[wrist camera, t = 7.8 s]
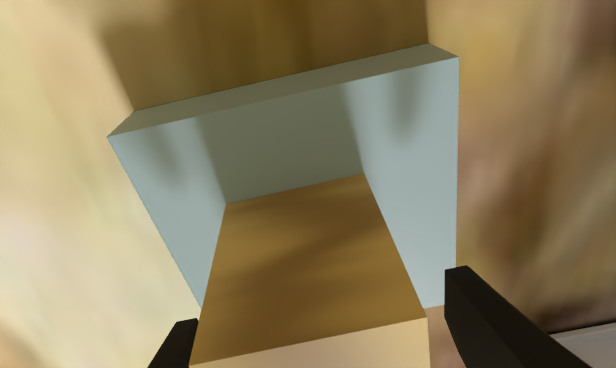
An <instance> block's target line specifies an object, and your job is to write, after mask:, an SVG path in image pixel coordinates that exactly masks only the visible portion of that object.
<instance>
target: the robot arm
mask: <svg viewBox="0 0 616 368" xmlns="http://www.w3.org/2000/svg"><path fill="white" fill-rule="evenodd" d="M444 317H445V320H446V322H447V325H448V327H449V330H450V332H451V335H452V337H453V340H454V342H455V345H456V347H457V350H458V352H459V354H460V356H461V358H462V360H463V362H464V364H465V366H466V368H616V323H611V324H605V325H600V326H594V327H589V328H584V329H578V330H573V331H567V332H562V333H557V334H551V335H548V334H547V333H546V332H545V331H543V330H542V329H541V328H540V327H538V326H537V325H536V324H535V323H533V322H532V321H531V320H530V319H529V318H527V317H526V316H525V315H524V314H522V313H521V312H520V311H519V310H518V309H516V308H515V307H514V306H513V305H512V304H510V303H509V302H508V301H507V300H506V299H505V298H503V297H502V296H501V295H500V294H499V293H498V292H497V291H495V290H494V289H493V288H492V287H491V286H490V285H489V284H487V283H486V282H485V281H484V280H483V279H482V278H481V277H480V276H479V275H477V274H476V273H475V272H474V271H473V270H472V269H471V268H470V267H468V266H467V265H466V266H461V267H455V268H450V269H445V296H444ZM198 323H199V321H198V319H197V318H194V319H189V320H184V321H179V322H176V324H175V325H174V327H173V328H172V330H171V331H170V333H169V334H168V336H167V337H166V339H165V341H164V342H163V344H162V345H161V347H160V349H159V350H158V352H157V353H156V355H155V357H154V358H153V360H152V361H151V363H150V364H149V366H148V368H189V362H190V357H191V353H192V349H193V344H194V340H195V336H196V331H197V327H198Z"/></svg>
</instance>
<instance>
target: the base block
mask: <svg viewBox="0 0 616 368" xmlns="http://www.w3.org/2000/svg"><path fill="white" fill-rule="evenodd" d="M458 98H459V56H456V55H454V54H452V53H450V52H447V51H445V50H443V49H441V48H438V47H436V46H434V45H432V44H430V43H428V44H423V45H419V46H415V47H410V48H406V49H402V50H397V51H393V52H389V53H384V54H380V55H376V56H371V57H367V58H363V59H358V60H354V61H350V62H345V63H341V64H337V65H332V66H328V67H324V68H319V69H315V70H311V71H306V72H302V73H298V74H293V75H289V76H284V77H280V78H276V79H271V80H267V81H263V82H258V83H254V84H250V85H245V86H241V87H237V88H232V89H228V90H224V91H219V92H215V93H211V94H206V95H202V96H198V97H193V98H189V99H185V100H180V101H176V102H172V103H167V104H163V105H159V106H154V107H150V108H146V109H141V110H137V111H134V112H133V113H132V114H131V115H130V116H129V117H128V118H126V119H125V120H124V121H123V122H122V123H121V124H120V125H119V126H118V127H117V128H116V129H115V130H114V131H112V132H111V133H110V134H109V135H108V136H107V139H108V141H109V142H110V144H111V146H112V148H113V150H114V152H115V153H116V155H117V157H118V159H119V161H120V162H121V164H122V166H123V168H124V170H125V171H126V173H127V175H128V177H129V179H130V181H131V182H132V184H133V186H134V188H135V190H136V191H137V193H138V195H139V197H140V199H141V200H142V202H143V204H144V206H145V208H146V210H147V211H148V213H149V215H150V217H151V219H152V220H153V222H154V224H155V226H156V228H157V229H158V231H159V233H160V235H161V237H162V239H163V240H164V242H165V244H166V246H167V248H168V249H169V251H170V253H171V255H172V257H173V259H174V260H175V262H176V264H177V266H178V268H179V269H180V271H181V273H182V275H183V277H184V278H185V280H186V282H187V284H188V286H189V288H190V289H191V291H192V293H193V295H194V297H195V298H196V300H197V302H198V304H199V306H200V307H201V309H202V305H203V301H204V297H205V292H206V288H207V284H208V279H209V275H210V271H211V266H212V262H213V258H214V253H215V249H216V245H217V240H218V236H219V232H220V227H221V223H222V219H223V214H224V210H225V206H226V204H230V203H235V202H239V201H243V200H248V199H252V198H257V197H261V196H265V195H270V194H274V193H279V192H283V191H287V190H292V189H296V188H301V187H305V186H309V185H314V184H318V183H323V182H327V181H331V180H336V179H340V178H345V177H349V176H353V175H358V174H362V173H364V174H365V176H366V178H367V181H368V183H369V185H370V188H371V190H372V192H373V195H374V197H375V199H376V201H377V204H378V206H379V208H380V211H381V213H382V215H383V217H384V220H385V222H386V224H387V227H388V229H389V231H390V234H391V236H392V238H393V240H394V243H395V245H396V247H397V250H398V252H399V254H400V256H401V259H402V261H403V263H404V266H405V268H406V270H407V272H408V275H409V277H410V279H411V282H412V284H413V286H414V289H415V291H416V293H417V295H418V298H419V300H420V302H421V305H422V307H423V309H424V308H429V307H434V306H439V305H444V296H445V269H450V268H455V267H456V214H457V156H458Z"/></svg>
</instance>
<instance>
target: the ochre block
mask: <svg viewBox="0 0 616 368" xmlns="http://www.w3.org/2000/svg"><path fill="white" fill-rule="evenodd" d="M189 368H430V356H429V340H428V325H427V316H426V314H425V311H424V309H423V307H422V305H421V302H420V300H419V298H418V295H417V293H416V291H415V289H414V286H413V284H412V282H411V279H410V277H409V275H408V272H407V270H406V268H405V266H404V263H403V261H402V259H401V256H400V254H399V252H398V250H397V247H396V245H395V243H394V240H393V238H392V236H391V234H390V231H389V229H388V227H387V224H386V222H385V220H384V217H383V215H382V213H381V211H380V208H379V206H378V204H377V201H376V199H375V197H374V195H373V192H372V190H371V188H370V185H369V183H368V181H367V178H366V176H365V174H364V173H362V174H358V175H353V176H349V177H345V178H340V179H336V180H331V181H327V182H323V183H318V184H314V185H309V186H305V187H301V188H296V189H292V190H287V191H283V192H279V193H274V194H270V195H265V196H261V197H257V198H252V199H248V200H243V201H239V202H235V203H230V204H226V206H225V210H224V214H223V219H222V223H221V227H220V232H219V236H218V240H217V245H216V249H215V253H214V258H213V262H212V266H211V271H210V275H209V279H208V284H207V288H206V292H205V297H204V301H203V305H202V310H201V314H200V318H199V323H198V327H197V331H196V336H195V340H194V344H193V349H192V353H191V357H190V362H189Z"/></svg>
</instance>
